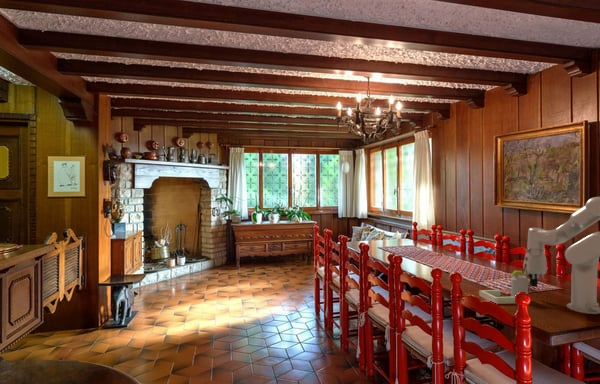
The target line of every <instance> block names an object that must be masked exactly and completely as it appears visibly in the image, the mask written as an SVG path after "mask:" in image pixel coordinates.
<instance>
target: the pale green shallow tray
mask: <svg viewBox="0 0 600 384" xmlns="http://www.w3.org/2000/svg"><path fill="white" fill-rule="evenodd" d="M478 291H479V292H478V293H479V297H481V298H482V299H484V300H487V301H488V302H490V301H492V302H494V303H496V304H495V305H498V304H499V305H500V304H516V302H515V297H514V296H511V295H510V296H501V291H502V290H500V289H484V290H483V289H482V290H480V289H479V290H478ZM492 302H491V303H492ZM494 303H493V304H494Z"/></svg>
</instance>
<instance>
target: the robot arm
mask: <svg viewBox="0 0 600 384" xmlns="http://www.w3.org/2000/svg"><path fill="white" fill-rule="evenodd" d="M569 216H570V217H569V219H568V220H567V221H566V222H564V223H563V224H561V225H560V226H559V227H556V228H555V229H549V230H548V229H546V230H545V229H544V228H540V227H529V228H528V230H527V245H526V249H525V252H526V253H525V255H524V260H523V267H522V269H523V273H524V274H525V276H528V279H529V282H530V284H529V286H531V287H533V288H537V287H538V280H539V279H540V277H542V276H544V275H546V274H547V269H548V268H547V265H548V264H547V263H548V262H547V257H546V254H545V245H547V246H556V245H560V244H564V243H565V242H567V241H569V240H571V239H573V238H575V237H577V235H579V234H580V233H582V232H583V231H585V230H587V229H588V228H589V227H591V226H593V225H594V224H595V223H598V221H600V196H595V197H591V198H589V199H588V200H587V201H586V202H585V205H583V206H582V207H581V208H579V209H577V210H576V211H573V213H571V214H570V215H569ZM564 257H565V260H566V261H567V262H568V264H571V283H570V285H571V286H570V287H571V289H570V290H571V291H570V292H571V293H570V302H569V303H567V304H566V308H568V310H571V311H573V312H577V313H581V314H589V315H599V314H600V306H599V305H600V303H599V302H597V301H598V299H597V297H598V293H597V291H598V290H597V289H598V268H599V263H600V262H599V260H600V231H595V232H592V233H591V234H588V235H586V237H585V236H584V237H583V238H582V239H580V240H578V241H577V242H575V243H573V244H571V245H570V246H568V248H566V250H565V252H564Z"/></svg>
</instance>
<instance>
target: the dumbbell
mask: <svg viewBox="0 0 600 384" xmlns="http://www.w3.org/2000/svg"><path fill="white" fill-rule="evenodd" d="M513 275H522V276H526V275H525V274H524V271H522V270H514V271H513V272H512V273H511V275H510V276H511V278H512V277H513ZM527 279H528V286H530V279H529V277H527Z"/></svg>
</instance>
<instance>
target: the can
mask: <svg viewBox="0 0 600 384" xmlns="http://www.w3.org/2000/svg"><path fill="white" fill-rule="evenodd" d="M527 278H528V277H527V275H525V276H522V275H513V277H511V279H510V280H511V281H510V282H511V283H510V284H511V285H510V287H511V289H510V290H511V291H510V297H511V296H514V297H515V295H516V294H517V293H519V292H525V293H526V294H528V295H529V285H528V280H529V278H528V279H527Z"/></svg>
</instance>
